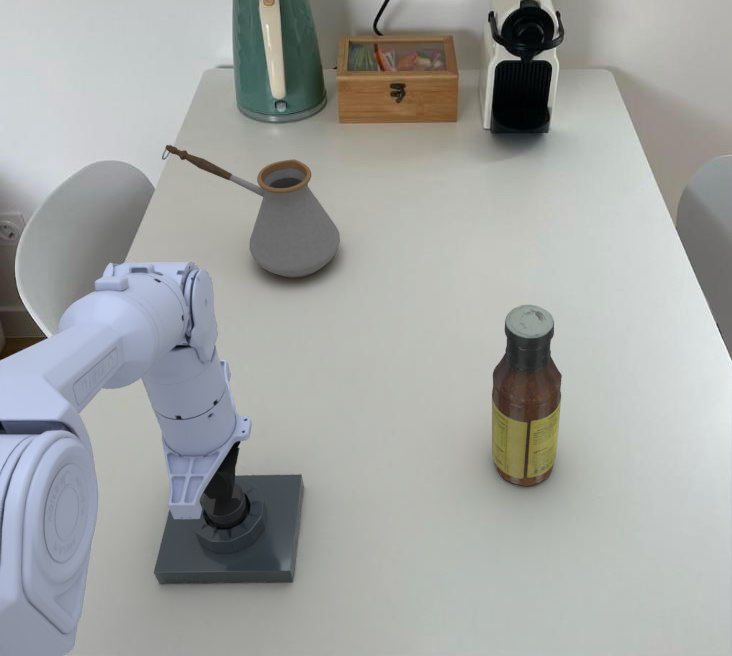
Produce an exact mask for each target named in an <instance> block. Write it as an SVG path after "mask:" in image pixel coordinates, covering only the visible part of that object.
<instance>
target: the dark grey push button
mask: <svg viewBox="0 0 732 656" xmlns="http://www.w3.org/2000/svg"><path fill="white" fill-rule="evenodd" d="M203 505H204V509H205V511H206V514H207V517H208V520H209V522H210V523H211V524H212V525H213V526H215V527H217V528H220V529H229V528H232V527H235V526H237V525H238V524H240V523H241V522H242V521H243V520H244V518H245V517H246V514H247V511H248V506H247V502H246V499H245V495H244V492H243V490H242V488H241V487H240V486H239V485H238V484H236V483H235V484H234V489H233V494H232V498H230V499H210V498H209V497H208V496H207V495H206V494H205V496H204V499H203Z"/></svg>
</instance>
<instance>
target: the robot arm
mask: <svg viewBox="0 0 732 656" xmlns="http://www.w3.org/2000/svg"><path fill="white" fill-rule="evenodd" d="M212 278H213V277H212V274H210V273H209V272H208V271H207V269H204V268H201V269H199V267H198V265H197V264H196V262H194V261H152V262H151V261H144V262H143V261H140V262H138V261H137V262H136V261H135V262H134V261H133V262H131V261H129V262H126V261H125V262H122V263H121V264H119V263H114V262H109V263H108V264H107V266H106V267H105V269H104V271H103V274H102V276H101V277H100V278H97V279H96V280H95V281H94V291H92V292H90V293H88V294H86V295H84V296H82V297H81V298H79V299H77V300H76V301H74V302H73V303H72V304H71V305H70V306H68V307H67V309H65V311H64V312H63V314H62V316H61V318H60V320H59V322H58V326H57V331H56V334H53V335H52V336H50V337H47V338H45V339H43V340H41V341H39V342H37V343H35V344H33V345H30V346H29V347H26V348H23V349H22V350H19V351H17V352H15V353H13V354H11V355H9V356H7V357H5V358H3V359H0V656H65V655H67V654H69V653H70V652H71V651H73V649H74V647H75V645H76V639H77V632H78V631H77V630H78V624H79V623H80V619H81V617H82V613H83V607H84V601H85V593H86V585H87V579H88V570H89V564H90V558H91V557H90V556H91V550H92V544H93V543H92V542H93V538H94V535H95V530H96V525H97V519H98V512H99V511H98V509H99V485H98V476H97V472H96V466H95V465H96V464H95V457H94V451H93V446H92V443H91V438H90V435H89V432H88V429H87V427H86V425H85V423H84V420H83V418H82V416H81V415H80V414H81V413H82V411H83V410H84V409H85V408H86V407H87V406H88V405H89V404H90V402H91V401H93V399H94V398H95V397H96V396H97V395H98V394H99V393H100V391H101V390H102V389H106V390H115V389H121V388H125V387H128V386H130V385H132V384H134V383H136V382H137V381H139V380H140V379H141V381H142V384H143V387H144V389H145V392H146V395H147V397H148V400H149V402H150V405H151V407H152V410H153V413H154V415H155V418H156V420H157V424H158V426H159V428H160V431H161V442H162V443H161V444H162V449H163V454H164V460H165V467H166V472H167V478H168V483H169V499H168V504H167V506H168V509H170V511H171V513H172V516H173V518H174V519H200V516H201V511H202V507H201V504H200V498H201V495H202V493H203V492H204V493H205V494H206V495H207V496H208V497H209V498H210V499H230V498H232V494H233V489H234V484H235V476H236V466H237V464H238V463H237V462H238V458H239V452H240V447H239V446H240V445H241V443H242V442H246V441H247V440H249V439H250V437H251V432H252V427H253V423H252V420H251V419H252V418H251V417H250V416H249V415H240V414H238V411H237V408H236V404H235V401H234V400H235V399H234V397H233V392H232V389H231V385H230V381H231V376H232V372H231V369H230V365H229V362H228V360H227V359H220V356H219V353H218V349H217V345H216V343H217V339H218V336H219V331H218V323H217V317H216V314H215V312H216V311H215V293H214V283H213V279H212Z"/></svg>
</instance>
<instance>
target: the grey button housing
mask: <svg viewBox="0 0 732 656" xmlns="http://www.w3.org/2000/svg"><path fill="white" fill-rule="evenodd" d="M235 483H236V484H238V485H239V486H240V487H241V488H242V490H243V492H244V495H245V499H246V502H247V506H248V511H247V514H246V517H245V518H244V520H243V521H242V522H241V523H240V524H238V525H237V526H235V527H232V528H229V529H220V528H217V527H215V526H213V525H212V524H211V523H210V522H209V520H208V517H207V514H206V511H205V509H204V505H203V499H204V496H205V493H204V492H203V493H202V495H201V498H200V504H201V507H202V511H201V516H200V519H174V518H173V516H172V513H171V511H170V509H169V508H168V509H169V510H168V513H167V517H166V521H165V524H164V525H165V526H164V530H163V534H162V537H161V541H160V546H159V549H158V553H157V558H156V561H155V565H154V569H153V574H154V576H155V578H156V581H157V582H158V584H159V585H164V584H165V585H166V584H167V585H170V584H171V585H172V584H175V585H177V584H180V585H181V584H244V583H245V584H249V583H251V584H253V583H255V584H256V583H257V584H259V583H293V582H294V578H295V570H296V562H297V553H298V544H299V543H298V542H299V534H300V524H301V515H302V509H303V507H302V506H303V499H304V492H305V491H304V489H305V484H304V480H303V475H302V474H300V473H299V474H244V475H243V474H242V475H239V474H238V475H236V474H235Z"/></svg>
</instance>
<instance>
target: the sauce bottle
mask: <svg viewBox="0 0 732 656" xmlns="http://www.w3.org/2000/svg"><path fill="white" fill-rule="evenodd" d="M504 335H505V337H506V347H505V353H504V354H503V356H502V358H501V359H500V361H499V362H498V364H497V365H496V366H495V367H494V369H493V372H492V391H491V457H492V459H493V460H492V461H493V463H494V466H495V469H496V471H497V472H498V474H499V475H500V476H501V477H502V478H503V480H505V481H507V482H510V483H512V484H516V485H520V486H523V487H524V486H526V487H529V486H534V485H537V484H539V483H541V482H543V481H545V480H546V479H547V478H549V476H550V475H551V474H552V471H553V468H554V465H555V461H556V459H557V450H558V440H559V439H558V437H559V429H560V419H561V418H560V417H561V405H562V392H561V390H562V389H561V388H562V378H563V376H562V375H563V374H562V373H561V372H560V371H559V369H558V366H557V365H556V363H555V361H554V359H553V358H552V351H551V343H552V339H553V338H554V337H555V336H554V335H555V320H554V317H553V315H552V313H550V312H549V311H548V310H547V309H545V308H543V307H541V306H538V305H533V304H522V305H519V306H516V307H514V308H512V309H511V310H510V311H509V312H508V313H507V314H506V315H505V320H504Z"/></svg>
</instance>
